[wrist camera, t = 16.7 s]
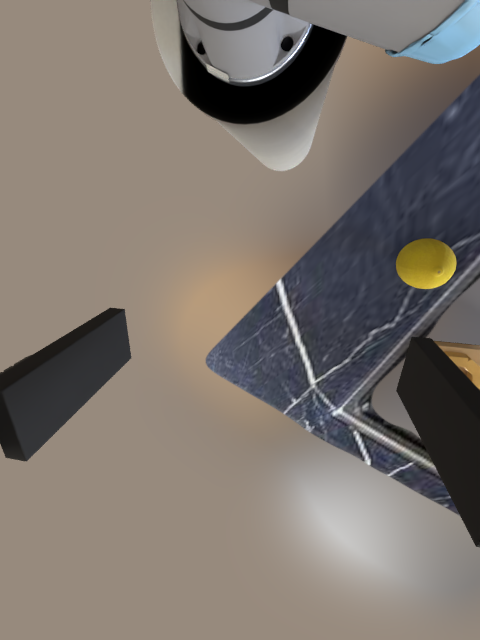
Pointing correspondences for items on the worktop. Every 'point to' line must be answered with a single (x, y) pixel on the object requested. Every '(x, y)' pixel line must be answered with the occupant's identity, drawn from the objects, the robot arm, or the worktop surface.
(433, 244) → the lemon
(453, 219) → the worktop surface
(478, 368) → the hang ring
